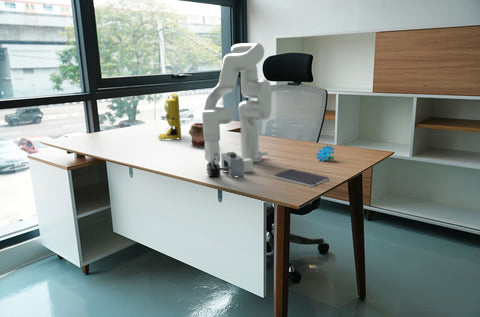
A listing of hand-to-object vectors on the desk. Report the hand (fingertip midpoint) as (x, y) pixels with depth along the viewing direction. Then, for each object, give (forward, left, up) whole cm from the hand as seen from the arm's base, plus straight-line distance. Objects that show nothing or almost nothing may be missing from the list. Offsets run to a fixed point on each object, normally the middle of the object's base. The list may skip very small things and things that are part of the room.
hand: (213, 174), depth 183 cm
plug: (-8, 0, 0) cm, 8 cm away
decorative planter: (-12, -66, -1) cm, 67 cm away
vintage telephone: (+2, -103, -1) cm, 103 cm away
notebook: (-34, +21, -1) cm, 40 cm away
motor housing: (-9, 0, -1) cm, 9 cm away
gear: (-61, 0, -1) cm, 61 cm away
